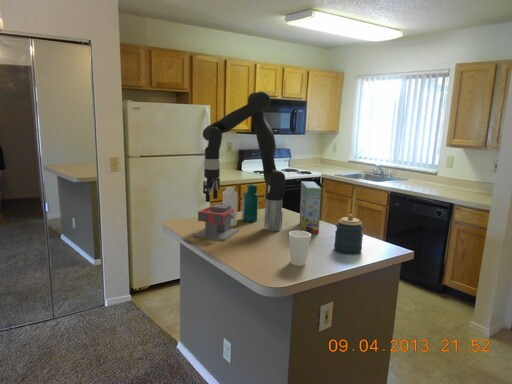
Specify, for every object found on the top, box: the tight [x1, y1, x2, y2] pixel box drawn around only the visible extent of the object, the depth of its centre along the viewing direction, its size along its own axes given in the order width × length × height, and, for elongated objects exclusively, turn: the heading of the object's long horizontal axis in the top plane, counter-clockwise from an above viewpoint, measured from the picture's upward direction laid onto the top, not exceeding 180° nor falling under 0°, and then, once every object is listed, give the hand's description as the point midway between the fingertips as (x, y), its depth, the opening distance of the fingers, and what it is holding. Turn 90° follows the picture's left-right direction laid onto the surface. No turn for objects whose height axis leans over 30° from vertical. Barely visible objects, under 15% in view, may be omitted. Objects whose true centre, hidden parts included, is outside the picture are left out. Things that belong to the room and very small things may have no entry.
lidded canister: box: [333, 214, 365, 255], centre depth 181 cm, size 13×13×18 cm
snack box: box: [299, 180, 322, 235], centre depth 215 cm, size 22×9×26 cm, turn 2°
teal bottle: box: [241, 183, 259, 223], centre depth 228 cm, size 10×8×22 cm
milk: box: [222, 186, 238, 227], centre depth 216 cm, size 6×6×22 cm
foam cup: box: [288, 230, 312, 267], centre depth 162 cm, size 10×9×13 cm
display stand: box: [193, 203, 240, 242], centre depth 198 cm, size 19×17×14 cm
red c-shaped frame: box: [197, 205, 234, 224], centre depth 197 cm, size 14×14×5 cm
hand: (211, 200), depth 190 cm, fingers open, 8 cm apart
